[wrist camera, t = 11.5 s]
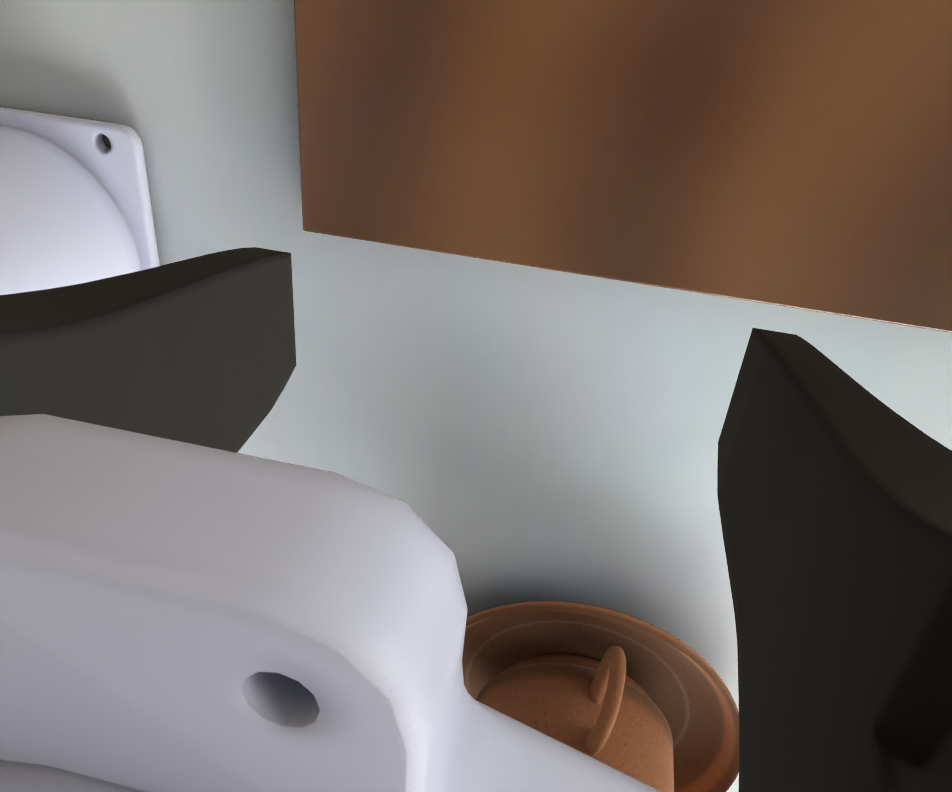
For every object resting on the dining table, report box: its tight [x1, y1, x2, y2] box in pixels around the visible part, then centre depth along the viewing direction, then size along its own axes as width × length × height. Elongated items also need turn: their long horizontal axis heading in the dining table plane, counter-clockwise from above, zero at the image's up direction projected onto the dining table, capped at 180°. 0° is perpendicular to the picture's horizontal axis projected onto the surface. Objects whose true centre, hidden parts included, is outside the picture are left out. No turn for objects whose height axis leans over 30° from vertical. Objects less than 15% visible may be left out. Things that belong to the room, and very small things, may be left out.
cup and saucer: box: [462, 601, 739, 792], centre depth 27 cm, size 12×12×6 cm
